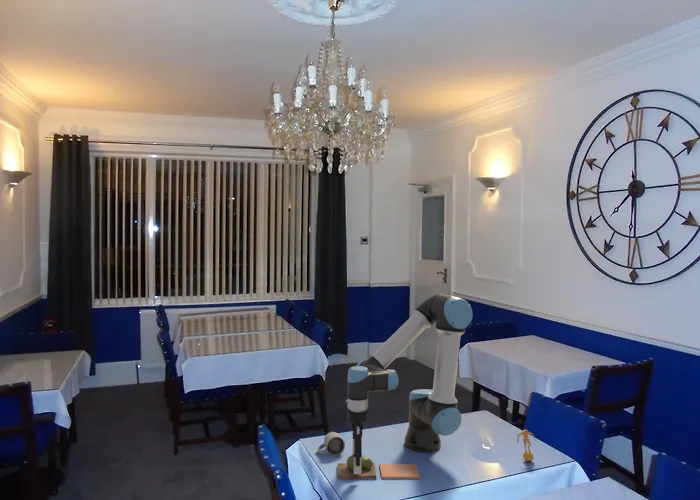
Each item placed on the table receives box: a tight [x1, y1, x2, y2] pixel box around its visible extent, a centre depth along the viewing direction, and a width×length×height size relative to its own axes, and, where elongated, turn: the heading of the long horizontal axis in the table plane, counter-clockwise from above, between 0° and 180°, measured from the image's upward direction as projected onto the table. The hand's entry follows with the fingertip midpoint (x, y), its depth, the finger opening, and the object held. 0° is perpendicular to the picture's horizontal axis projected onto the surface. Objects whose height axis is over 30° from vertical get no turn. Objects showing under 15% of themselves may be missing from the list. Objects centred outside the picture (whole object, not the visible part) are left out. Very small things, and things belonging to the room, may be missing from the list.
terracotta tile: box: [379, 463, 421, 480], centre depth 194 cm, size 14×10×1 cm
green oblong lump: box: [346, 454, 374, 471], centre depth 194 cm, size 6×5×10 cm
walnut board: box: [337, 462, 377, 480], centre depth 194 cm, size 14×10×1 cm
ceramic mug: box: [316, 431, 346, 457], centre depth 211 cm, size 11×8×8 cm
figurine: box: [516, 429, 537, 462], centre depth 206 cm, size 8×6×12 cm
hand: (356, 465), depth 194 cm, fingers open, 13 cm apart
